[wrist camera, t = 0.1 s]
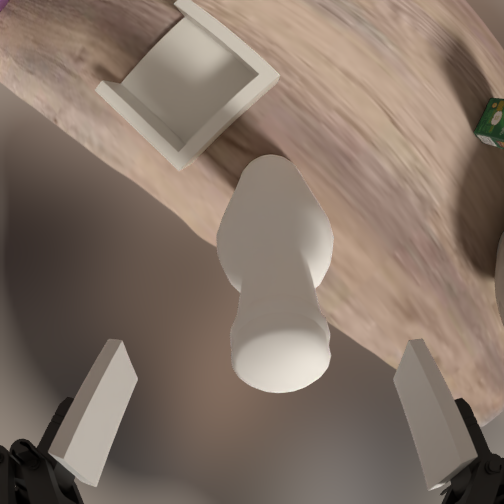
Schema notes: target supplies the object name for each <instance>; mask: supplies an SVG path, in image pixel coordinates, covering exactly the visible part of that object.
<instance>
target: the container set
mask: <svg viewBox="0 0 504 504" xmlns="http://www.w3.org/2000/svg"><path fill="white" fill-rule="evenodd" d="M8 1H9V0H0V11H1V10H2V9H3V8H4V7H5V5H6V4H7V3H8Z"/></svg>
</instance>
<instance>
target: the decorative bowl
mask: <svg viewBox="0 0 504 504" xmlns="http://www.w3.org/2000/svg"><path fill="white" fill-rule="evenodd" d="M495 294H496V301H497V306H498V310H499V314H500V317H501V320H502V323H503V326H504V231H503V233H502V235H501V238H500V241H499V244H498V248H497V261H496V267H495Z"/></svg>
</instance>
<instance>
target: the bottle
mask: <svg viewBox="0 0 504 504" xmlns="http://www.w3.org/2000/svg"><path fill="white" fill-rule="evenodd" d="M333 241H334V237H333V233H332V229H331V225H330V222H329V219H328V217H327V215H326V214H325V212H324V210H323V209H322V207H321V205H320V204H319V202H318V201H317V199H316V197H315V196H314V194H313V192H312V191H311V189H310V188H309V186H308V185H307V183H306V181H305V180H304V178H303V177H302V174H301V172H300V171H299V170H298V168H297V167H296V166H295V165H294V163H292V162H291V161H289V160H288V159H286V158H284V157H283V156H278V155H273V154H270V155H263V156H260V157H258V158H256V159H254V160H253V161H251V162H250V163H249V164H248V165H247V167H246V168H245V169H244V170H243V171H242V174H241V177H240V179H239V182H238V184H237V186H236V189H235V191H234V193H233V195H232V198H231V200H230V202H229V204H228V206H227V209H226V211H225V213H224V215H223V218H222V221H221V224H220V227H219V230H218V233H217V253H218V258H219V261H220V263H221V265H222V267H223V269H224V271H225V274H226V276H227V278H228V280H229V281H230V283H231V284H232V285H233V286H234V287H235V288H236V289H237V290H238V291H239V292H240V298H239V306H238V312H237V316H236V318H235V321H234V323H233V325H232V328H231V333H230V343H231V349H232V353H231V360H232V367H233V369H234V371H235V372H236V374H237V376H238V377H239V378H240V379H242V380H243V381H244V382H246V383H247V384H248V385H250V386H252V387H254V388H257V389H260V390H263V391H266V392H274V393H283V392H292V391H296V390H298V389H301V388H304V387H306V386H308V385H310V384H311V383H312V382H314V381H315V380H317V379H318V378H320V377H321V376H322V374H323V373H324V372H325V370H326V369H327V368H328V365H329V361H330V357H331V354H330V349H329V340H330V332H329V328H328V324H327V321H326V317H325V316H324V315H323V314H322V313H321V311H320V307H319V302H318V298H317V294H316V290H315V288H316V287H317V286H319V285H320V283H321V281H322V279H323V278H324V276H325V274H326V272H327V270H328V268H329V265H330V262H331V257H332V250H333Z"/></svg>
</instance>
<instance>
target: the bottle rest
mask: <svg viewBox="0 0 504 504" xmlns="http://www.w3.org/2000/svg"><path fill="white" fill-rule="evenodd" d="M174 5H175V6H176V7H177V8H178V10H179V11H180V12H181V13H182V14H183V15H184V16H185V17H184V18H183V19H182V20H181V21H180V22H178V23H177V24H176V25H175V26H174V27H173V28H172V29H171V30H170V31H169V32H168V33H167V34H166V35H165V36H164V37H163V38H162V39H161V40H160V41H159V42H158V43H157V44H156V45H155V46H154V47H153V48H152V49H151V50H150V51H149V52H148V53H147V54H146V55H145V56H144V57H143V59H142V60H141V61H140V62H139V63H138V64H137V65H136V66H135V67H134V69H133V70H132V71H131V72H130V73H129V74H128V76H127V77H126V78H125V79H124V80H123V82H122V83H116V82H110V81H104V80H102V81H101V82H100V84H99V85H98V86H97V88H96V89H95V91H96V92H97V93H98V94H99V95H100V96H101V97H102V98H103V99H104V100H105V101H106V102H108V103H109V104H110V105H111V106H112V107H113V108H114V109H115V110H116V111H117V112H118V113H119V114H120V115H121V116H122V117H123V118H124V119H125V120H126V121H127V122H128V123H129V124H131V125H132V126H133V127H134V128H135V129H136V130H137V131H138V132H139V133H140V134H141V135H142V136H143V137H144V138H145V139H146V140H147V141H148V142H149V143H150V144H151V145H152V146H153V147H154V148H155V149H157V150H158V151H159V152H160V153H161V154H162V155H163V156H164V157H165V158H166V159H167V160H168V161H169V162H170V163H171V164H172V165H173V166H174V167H175V168H176V169H177V170H178V171H180V170H182V169H184V168H185V167H187V166H189V165H190V164H192V163H193V162H194V161H195V160H196V159H197V158H198V157H199V156H200V155H201V154H202V153H203V152H204V151H205V150H206V149H207V148H208V147H209V146H210V145H211V144H212V143H213V142H214V141H215V140H216V139H217V138H218V137H219V136H220V135H221V134H222V133H223V132H224V131H225V130H226V129H227V128H228V127H229V126H230V125H231V124H232V123H233V122H234V121H235V120H236V119H237V118H239V117H240V116H241V115H242V114H243V113H244V112H245V111H246V110H247V109H248V108H249V107H251V106H252V105H253V104H254V103H255V102H256V101H257V100H258V99H260V98H261V97H262V96H263V95H264V94H265V93H266V92H268V91H269V90H270V89H271V88H272V87H273V86H275V85H276V84H277V83H278V81H279V77H280V74H279V73H278V72H277V71H276V70H274V69H273V68H272V67H271V66H270V65H269V64H268V63H267V62H266V61H265V60H264V59H263V58H262V57H261V56H259V55H258V54H257V53H256V52H255V51H254V50H253V49H252V48H250V47H249V46H248V45H247V44H246V43H245V42H244V41H242V40H241V39H240V38H239V37H238V36H236V35H235V34H234V33H233V32H232V31H230V30H229V29H228V28H227V27H225V26H224V25H223V24H222V23H220V22H219V21H218V20H217V19H215V18H214V17H213V16H211V15H210V14H209V13H207V12H206V11H205V10H203V9H202V8H201V7H199V6H198V5H197V4H195V3H194V2H192V1H191V0H177V1H176V2H175V3H174Z"/></svg>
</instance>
